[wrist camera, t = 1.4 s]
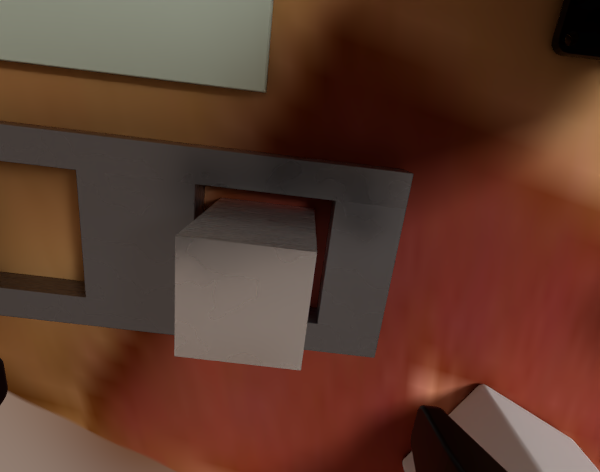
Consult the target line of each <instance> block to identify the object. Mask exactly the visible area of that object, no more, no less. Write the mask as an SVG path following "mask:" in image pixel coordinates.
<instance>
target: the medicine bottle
mask: <svg viewBox="0 0 600 472" xmlns="http://www.w3.org/2000/svg"><path fill="white" fill-rule="evenodd" d="M449 416H450V417H451V418H452V419H453V420H454V421H455V422H456V423H457V424H458V425H459V426H460V427H461V428H462V429H463V430H464V431H465V432H466V433H467V434H469V435H470V436H471V437H472V438H473V439H474V440H475V441H476V442H477V443H478V444H479V445H480V446H481V447H482V448H483V449H484V450H485V451H486V452H487V453H489V454H490V455H491V456H492V457H493V458H494V459H495V460H496V461H497V462H498V463H499V464H500V465H501V466H502V467H503V468H504V469H505V470H506V471H507V472H600V471H599V470H598V469H597V468H596V467H595V465H594V464H593V463H592V462H591V461H590V459H589V458H588V457H587V456H586V455H585V454H584V452H583V451H582V450H581V449H580V448H579V446H578V445H577V444H576V443H575V442H574V441H573V440H572V439H571V438H570V437H568V436H567V435H565V434H563V433H562V432H560V431H559V430H557V429H555V428H554V427H552V426H551V425H549V424H547V423H546V422H544V421H543V420H541V419H539V418H538V417H536V416H535V415H533V414H531V413H530V412H528V411H527V410H525V409H523V408H522V407H520V406H519V405H517V404H515V403H514V402H512V401H511V400H509V399H507V398H506V397H504V396H503V395H501V394H499V393H498V392H496V391H495V390H493V389H491V388H490V387H488V386H487V385H484V384H482V385H479V386H477V387H476V388H475V389H474V390H473V391H472V392H471V393H470V394H469V395H468V396H467V397H466V398H465V399H464V400H463V401H462V402H461V403H460V404H459V405H458V406H457V407H456V408H455V409H454V410H453V411H452V412H451V413H450V414H449ZM402 464H403V469H404V472H416V471H415V465H414V460H413V454H412V451H411V452H410V453H409V454H408V455H407V456H406V457H405V458H404V459H403V462H402Z"/></svg>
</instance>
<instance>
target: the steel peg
mask: <svg viewBox="0 0 600 472" xmlns="http://www.w3.org/2000/svg"><path fill="white" fill-rule="evenodd" d="M316 257H317V243H316V228H315V213H314V208H305V207H297V206H288V205H280V204H271V203H263V202H254V201H246V200H238V199H229V198H220V199H219V200H218V201H217V202H216V203H214V204H213V205H212V206H211V207H210V208H208V209H207V210H206V211H205V212H203V213H202V214H201V215H200V216H199V217H197V218H196V219H195V220H194V221H193V222H191V223H190V224H189V225H188V226H186V227H185V228H184V229H183V230H182V231H180V232H179V233H178V234H177V235H176V236H175V348H174V356H178V357H187V358H196V359H205V360H214V361H223V362H231V363H240V364H249V365H258V366H267V367H276V368H285V369H293V370H301V365H302V357H303V350H304V343H305V336H306V329H307V321H308V314H309V307H310V300H311V293H312V285H313V278H314V271H315V264H316Z"/></svg>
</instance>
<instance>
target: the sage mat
mask: <svg viewBox="0 0 600 472" xmlns="http://www.w3.org/2000/svg"><path fill="white" fill-rule="evenodd" d="M272 12H273V0H0V60H2V61H10V62H19V63H27V64H35V65H43V66H51V67H59V68H67V69H76V70H84V71H92V72H100V73H108V74H116V75H125V76H133V77H141V78H149V79H157V80H165V81H173V82H182V83H190V84H198V85H206V86H214V87H222V88H230V89H239V90H247V91H255V92H263V93H266V87H267V75H268V62H269V50H270V37H271V25H272Z"/></svg>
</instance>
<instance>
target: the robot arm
mask: <svg viewBox="0 0 600 472" xmlns="http://www.w3.org/2000/svg"><path fill="white" fill-rule="evenodd" d="M567 34H568V35H570V37H571V43H570V45H569V46H568V45H566V43H565V38H566V36H567ZM552 48H553V51H554V52H555V53H556V54H559V55H563V56H571V57H579V58H587V59H595V60H600V0H564V2H563V5H562V9H561V12H560V16H559V19H558V22H557V26H556V29H555V32H554V36H553V39H552ZM7 390H8V386H7V380H6V374H5V368H4V363H3V361H2V359H1V358H0V405H1V403H2V402H3V400H4V398H5V397H6V394H7ZM411 448H412V454H413V460H414V465H415V471H416V472H507V471H506V470H505V469H504V468H503V467H502V466H501V465H500V464H499V463H498V462H497V461H496V460H495V459H494V458H493V457H492V456H491V455H490V454H489V453H487V452H486V451H485V450H484V449H483V448H482V447H481V446H480V445H479V444H478V443H477V442H476V441H475V440H474V439H473V438H472V437H471V436H470V435H469V434H467V433H466V432H465V431H464V430H463V429H462V428H461V427H460V426H459V425H458V424H457V423H456V422H455V421H454V420H453V419H452V418H451V417H450V416H449V415H447V414H446V413H445V412H444V411H443V410H442V409H441V408H439V407H433V406H425V405H423V406H420V407H419V409H418V412H417V415H416V419H415V423H414V426H413V430H412V434H411Z"/></svg>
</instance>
